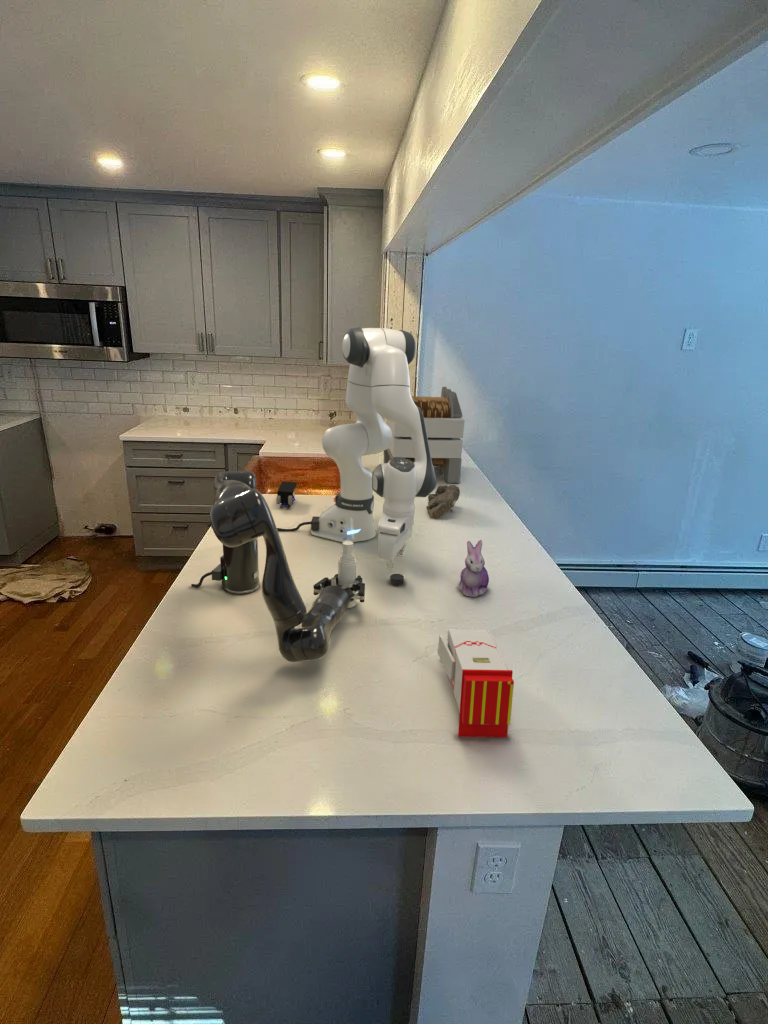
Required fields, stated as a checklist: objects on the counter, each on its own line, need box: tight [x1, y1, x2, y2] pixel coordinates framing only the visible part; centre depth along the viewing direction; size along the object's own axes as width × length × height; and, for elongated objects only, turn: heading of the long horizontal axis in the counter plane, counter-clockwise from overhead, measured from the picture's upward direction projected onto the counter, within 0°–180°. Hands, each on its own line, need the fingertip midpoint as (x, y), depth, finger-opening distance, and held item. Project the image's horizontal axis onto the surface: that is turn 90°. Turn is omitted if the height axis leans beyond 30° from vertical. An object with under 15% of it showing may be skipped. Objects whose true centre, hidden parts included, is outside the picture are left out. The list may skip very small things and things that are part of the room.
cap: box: [389, 573, 405, 587], centre depth 164 cm, size 4×4×2 cm
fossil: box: [426, 484, 461, 519], centre depth 223 cm, size 22×10×15 cm
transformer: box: [383, 386, 465, 484], centre depth 268 cm, size 34×33×41 cm
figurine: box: [459, 539, 490, 598], centre depth 159 cm, size 9×10×15 cm
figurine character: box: [275, 480, 298, 509], centre depth 223 cm, size 7×8×15 cm
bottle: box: [337, 541, 357, 609], centre depth 149 cm, size 5×5×18 cm
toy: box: [437, 628, 515, 738], centre depth 117 cm, size 12×13×30 cm
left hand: (349, 577), depth 152 cm, fingers closed on bottle, 4 cm apart
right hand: (394, 562), depth 162 cm, fingers open, 8 cm apart
